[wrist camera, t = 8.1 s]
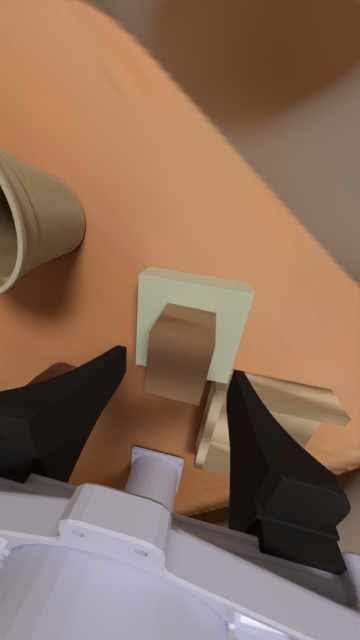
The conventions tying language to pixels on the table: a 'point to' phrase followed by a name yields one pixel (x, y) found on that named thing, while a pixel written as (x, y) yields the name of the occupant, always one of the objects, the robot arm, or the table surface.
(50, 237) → the flower pot
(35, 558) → the robot arm
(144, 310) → the sage stand
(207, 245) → the table surface
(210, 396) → the birch box
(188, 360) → the walnut block
